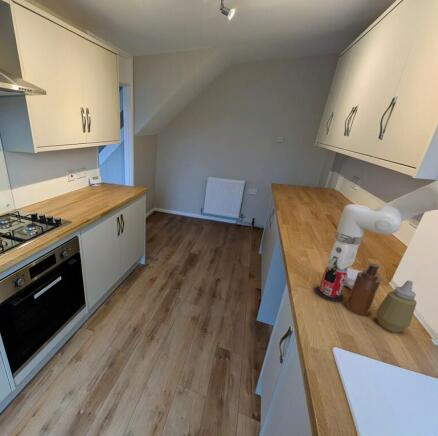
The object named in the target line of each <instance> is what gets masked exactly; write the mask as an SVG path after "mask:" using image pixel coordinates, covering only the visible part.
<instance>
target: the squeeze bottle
mask: <svg viewBox="0 0 438 436" xmlns="http://www.w3.org/2000/svg"><path fill="white" fill-rule="evenodd" d="M413 285H414V282H413V281H412V280H410V279H407V280H406V281H405V282H404V284H403V285H402V286H395V288H394V290H392V291H388V292H387V294H386V296H385V297H384V299H383V301H382V302H381V303H380V305H379V306H378V308H377V310H376V320H377V323H378V325H380V326H381V327H382V328H384V329H386V330H388V331H389V332H394V333H401V332H402V331H404V330H405V329H407V328H408V327H410V326H411V322H412V319H413V316H414V313H415V310H416V307H417V300H416V299H415V298H416V296H417V295H416V293H415V292H414V291H413Z"/></svg>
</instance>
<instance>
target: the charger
mask: <svg viewBox="0 0 438 436" xmlns="http://www.w3.org/2000/svg"><path fill="white" fill-rule="evenodd" d="M359 272H363V270H358V269H354V268H351V267H348V268H347V279H346V282H345V285H344V287H348V289H350V291H351V290H352V287H353V285H354V282H355V279H356V277H357V274H358V273H359Z"/></svg>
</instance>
